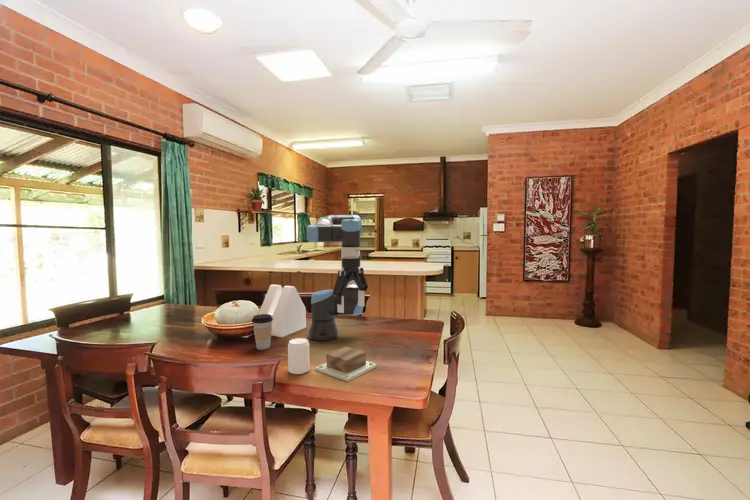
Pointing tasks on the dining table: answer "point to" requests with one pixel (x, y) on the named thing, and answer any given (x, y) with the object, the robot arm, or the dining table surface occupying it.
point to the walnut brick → (346, 359)
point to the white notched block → (284, 310)
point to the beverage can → (298, 356)
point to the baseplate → (345, 376)
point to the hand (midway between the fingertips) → (351, 309)
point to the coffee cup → (262, 330)
